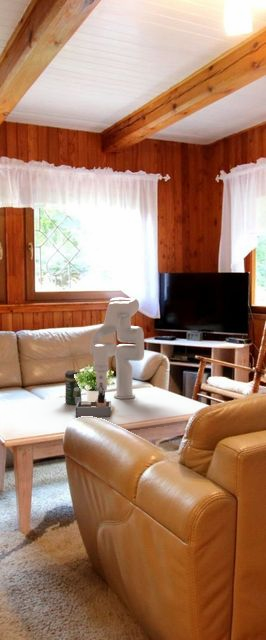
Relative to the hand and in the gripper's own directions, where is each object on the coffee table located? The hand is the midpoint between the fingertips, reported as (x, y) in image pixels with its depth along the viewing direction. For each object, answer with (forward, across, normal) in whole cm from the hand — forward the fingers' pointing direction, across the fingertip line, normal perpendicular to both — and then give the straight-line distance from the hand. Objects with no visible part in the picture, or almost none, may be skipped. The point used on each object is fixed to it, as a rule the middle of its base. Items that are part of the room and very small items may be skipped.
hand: (101, 400), depth 278 cm
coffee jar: (+7, +24, +17) cm, 30 cm away
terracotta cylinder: (+6, 0, 0) cm, 6 cm away
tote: (+7, 0, +4) cm, 8 cm away
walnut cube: (+6, 0, +8) cm, 10 cm away
